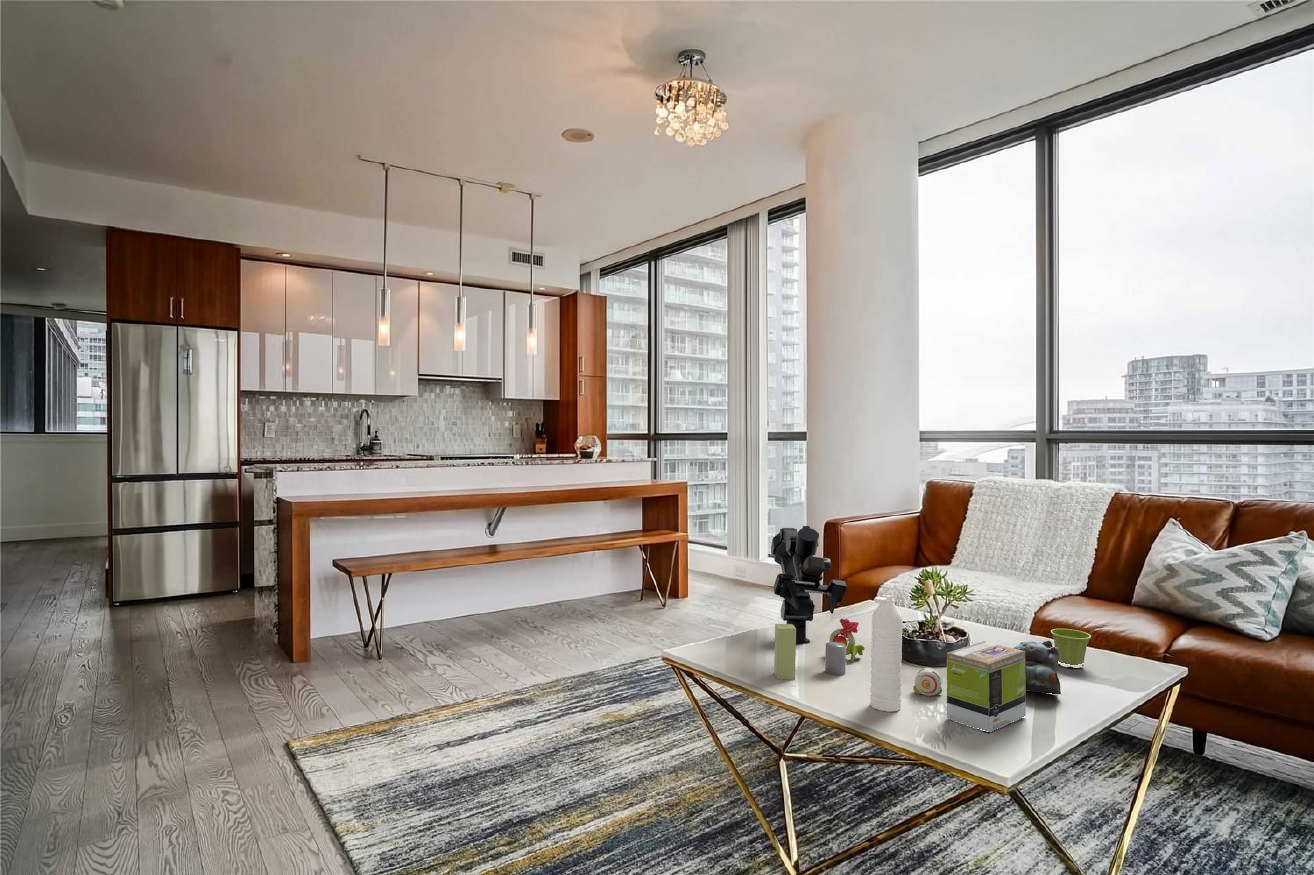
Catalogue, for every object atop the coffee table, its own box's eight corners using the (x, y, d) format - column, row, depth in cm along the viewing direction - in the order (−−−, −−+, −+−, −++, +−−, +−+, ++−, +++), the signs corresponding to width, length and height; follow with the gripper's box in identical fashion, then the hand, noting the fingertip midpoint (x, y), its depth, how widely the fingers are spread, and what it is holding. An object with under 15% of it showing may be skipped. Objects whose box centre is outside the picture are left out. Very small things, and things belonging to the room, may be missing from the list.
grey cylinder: (822, 669, 193) (822, 642, 193) (840, 668, 194) (840, 641, 193) (830, 676, 188) (830, 648, 188) (848, 675, 189) (849, 647, 189)
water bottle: (876, 699, 172) (878, 590, 171) (904, 706, 168) (907, 594, 167) (862, 710, 165) (864, 597, 164) (891, 717, 161) (893, 601, 160)
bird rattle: (832, 667, 202) (863, 659, 197) (817, 626, 204) (847, 617, 199) (841, 661, 207) (871, 653, 202) (826, 622, 209) (855, 613, 205)
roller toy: (941, 699, 172) (941, 674, 172) (912, 695, 175) (912, 670, 175) (942, 693, 176) (943, 669, 176) (914, 689, 179) (914, 665, 179)
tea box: (982, 704, 170) (984, 639, 169) (1026, 719, 161) (1028, 650, 161) (944, 719, 161) (945, 650, 160) (989, 735, 152) (990, 662, 152)
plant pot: (1098, 669, 197) (1099, 636, 197) (1072, 673, 193) (1073, 639, 193) (1067, 658, 206) (1068, 627, 205) (1041, 662, 202) (1042, 630, 202)
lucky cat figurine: (983, 687, 181) (987, 630, 187) (1017, 701, 185) (1020, 645, 191) (1039, 688, 168) (1041, 627, 174) (1074, 703, 172) (1075, 643, 178)
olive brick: (774, 673, 189) (775, 623, 189) (791, 673, 189) (792, 624, 189) (777, 679, 185) (778, 628, 185) (795, 679, 185) (796, 628, 185)
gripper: (779, 543, 202) (788, 584, 189) (846, 551, 204) (859, 592, 191) (770, 573, 208) (777, 614, 195) (835, 580, 210) (846, 622, 197)
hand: (815, 610), depth 194 cm, fingers open, 9 cm apart
